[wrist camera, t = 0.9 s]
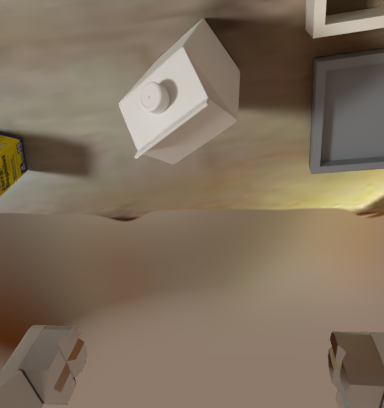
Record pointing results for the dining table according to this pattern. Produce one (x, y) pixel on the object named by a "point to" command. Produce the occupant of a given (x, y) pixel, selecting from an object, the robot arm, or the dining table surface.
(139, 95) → the milk carton
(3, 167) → the supplement box
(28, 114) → the dining table surface
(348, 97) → the tray
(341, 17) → the white open box
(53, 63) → the dining table surface
